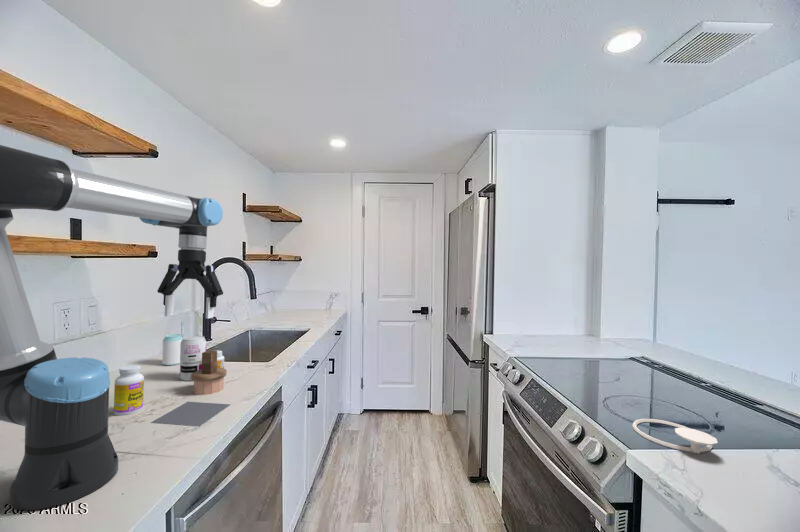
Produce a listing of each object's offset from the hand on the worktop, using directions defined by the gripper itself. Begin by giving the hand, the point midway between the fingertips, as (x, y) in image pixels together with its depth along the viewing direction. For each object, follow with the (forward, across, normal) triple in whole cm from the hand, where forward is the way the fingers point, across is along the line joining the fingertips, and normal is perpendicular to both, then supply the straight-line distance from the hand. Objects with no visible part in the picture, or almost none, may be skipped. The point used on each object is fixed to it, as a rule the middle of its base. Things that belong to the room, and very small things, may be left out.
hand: (189, 317), depth 106 cm
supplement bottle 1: (+27, +10, +9) cm, 30 cm away
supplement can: (+26, +12, -20) cm, 35 cm away
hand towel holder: (+26, -141, +3) cm, 144 cm away
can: (+26, +32, -34) cm, 53 cm away
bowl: (+26, -2, -9) cm, 27 cm away
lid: (+21, -2, -9) cm, 23 cm away
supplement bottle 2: (+26, +3, -20) cm, 33 cm away
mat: (+26, -9, +8) cm, 29 cm away
